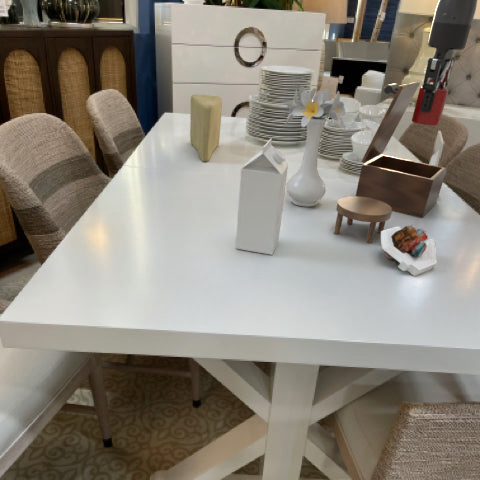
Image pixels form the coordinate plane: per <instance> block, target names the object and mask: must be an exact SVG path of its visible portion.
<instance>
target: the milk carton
mask: <svg viewBox="0 0 480 480" xmlns="http://www.w3.org/2000/svg"><path fill="white" fill-rule="evenodd" d="M272 140H273V138H269V140H268V141H267V142H266V143H265V144H264V145H263V146H262V150H261V151H259V152H258V153H256V154H255V155H253V156H252V157H251V158H249V159H248V161H246V163H245V164H244V165H243V166H242V167H241V168H240V179H239V193H238V207H237V222H236V236H235V249H236V250H242V251H248V252H253V253H254V252H255V253H260V254H266V255H271V256H272V255H273V254H274V252H275V249H276V248H277V245H278V243H279V239H280V233H281V225H282V223H281V222H282V216H283V210H284V209H283V208H284V199H285V193H286V185H287V177H288V168H289V164H288V162H287V161H286V156H285V154H284V153H283V152H281V150H279V149H276V148H275V147H274V145H272Z"/></svg>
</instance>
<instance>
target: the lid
mask: <svg viewBox="0 0 480 480" xmlns="http://www.w3.org/2000/svg"><path fill="white" fill-rule="evenodd" d="M420 85H421V82H419V81H414V82H410V83H406V84H402V85H399V84H398V83H391V84H386V85H385V86H384V87H383V88H384V89H383V92H384V93H385V94H387V95H388V94H392V95H394V97H393V98H392V101H391V102H390V104H389V106H388V108H387V109H386V112H385V114H384V115H383V118H382V120H381V122H380V123H379V126H378V127H377V130H376V132H375V133H374V136H373V137H372V140H371V141H370V143H369V145H368V147H367V149H366V151H365V153H364V155H363V157H362V159H361V163H363V164H364V163H366V162H368V161H370V160H372V159H373V158H375V157H377V156H379V155H381V154H382V155H383V153H384V152H385V150H386V148H387V146H388V144H389V142H390V141H391V138H392V137H393V135H394V133H395V131H396V129H397V127H398V126H399V124H400V122H401V120H402V118H403V116H404V115H405V113H406V111H407V108H408V107H409V106H410V103H411V101H412V99H413V98H414V96H415V94H416V92H417V90H418V88H419V87H420Z"/></svg>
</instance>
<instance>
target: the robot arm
mask: <svg viewBox="0 0 480 480" xmlns="http://www.w3.org/2000/svg"><path fill="white" fill-rule="evenodd" d="M477 5H478V0H438V2H437V5H436V8H435V12H434V16H433V20H432V23H431V28H430V31H429V32H430V33H429V36H428V41H427V47H429V48H434V49H435V52H434V54H433V57H429V58H428V60H427V65H426V69H425V73H424V78H423V83H422V90H424V92H425V93H424V96H423V100H422V104H421V108H420V111H421V112H426V113H429V112H430V111H431V109H432V105H433V101H434V98H435V94H436V92H437V89H438V88H444V89H446V88H447V87H448V85H449V80H450V78H451V74H452V70H453V67H454V64H455V61H456V57H454V56H453V55H454V51H462V50H464V49H466V47H467V46H466V45H467V43H468V39H469V35H470V31H471V29H472V24H473V21H474V17H475V14H476V11H477Z"/></svg>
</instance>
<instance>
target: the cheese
mask: <svg viewBox="0 0 480 480" xmlns="http://www.w3.org/2000/svg"><path fill="white" fill-rule="evenodd" d="M222 104H223V101H222V97H221V96H218V95H210V94H208V95H207V94H192V95H191V96H190V122H189V123H190V126H189V128H190V129H189V139H190V140H189V141H190V144H191V145H192V147H194V148H195V149H196V151H197V154H198V156H199V158H200V160H201V162H206V163H207V162H209V161H210V158H211V156H212V155H213V152H214V151H215V149H216V148H217V146H219V145H220V138H221V137H220V136H221V126H222V125H221V124H222Z"/></svg>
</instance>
